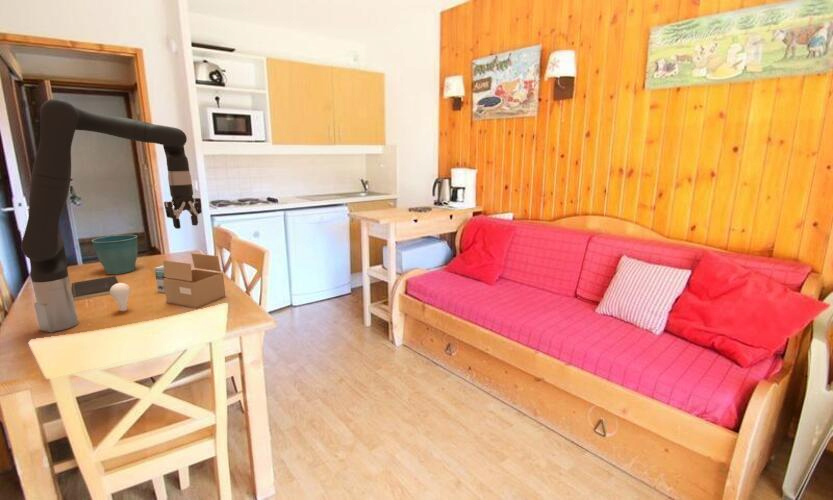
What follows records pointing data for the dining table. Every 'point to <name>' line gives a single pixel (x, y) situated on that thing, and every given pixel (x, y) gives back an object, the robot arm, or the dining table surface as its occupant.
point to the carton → (195, 289)
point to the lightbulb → (120, 295)
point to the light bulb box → (160, 278)
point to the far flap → (206, 262)
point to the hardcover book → (93, 287)
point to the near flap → (177, 270)
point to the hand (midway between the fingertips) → (186, 226)
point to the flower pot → (117, 253)
